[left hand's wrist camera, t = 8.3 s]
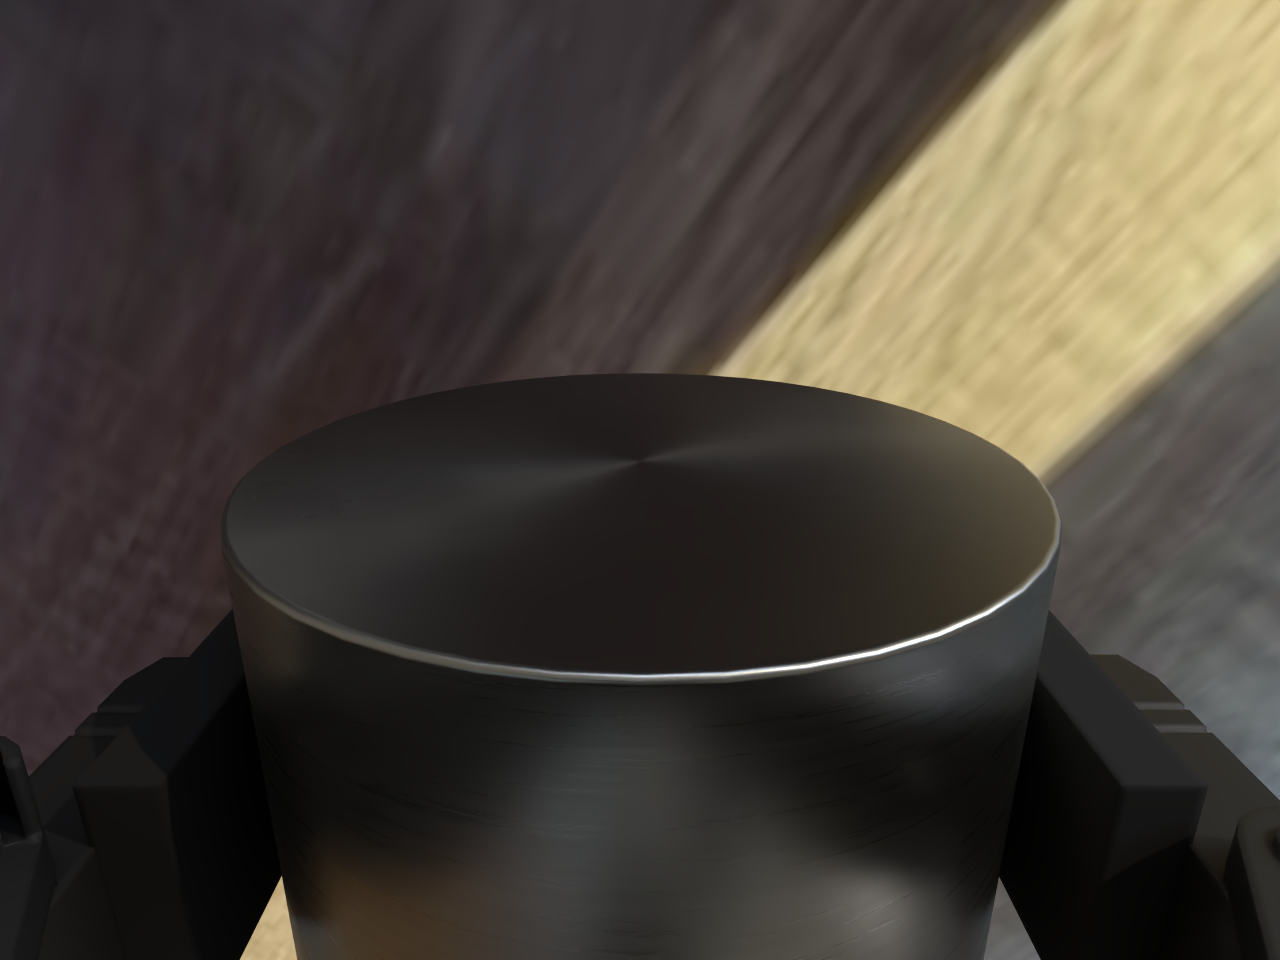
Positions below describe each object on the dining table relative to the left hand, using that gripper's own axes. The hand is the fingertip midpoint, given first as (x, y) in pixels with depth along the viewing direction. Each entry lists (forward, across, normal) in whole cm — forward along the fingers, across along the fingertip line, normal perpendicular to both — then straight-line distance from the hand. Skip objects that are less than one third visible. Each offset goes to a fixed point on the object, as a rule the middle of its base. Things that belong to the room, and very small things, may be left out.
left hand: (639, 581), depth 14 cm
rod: (0, 0, -8) cm, 8 cm away
